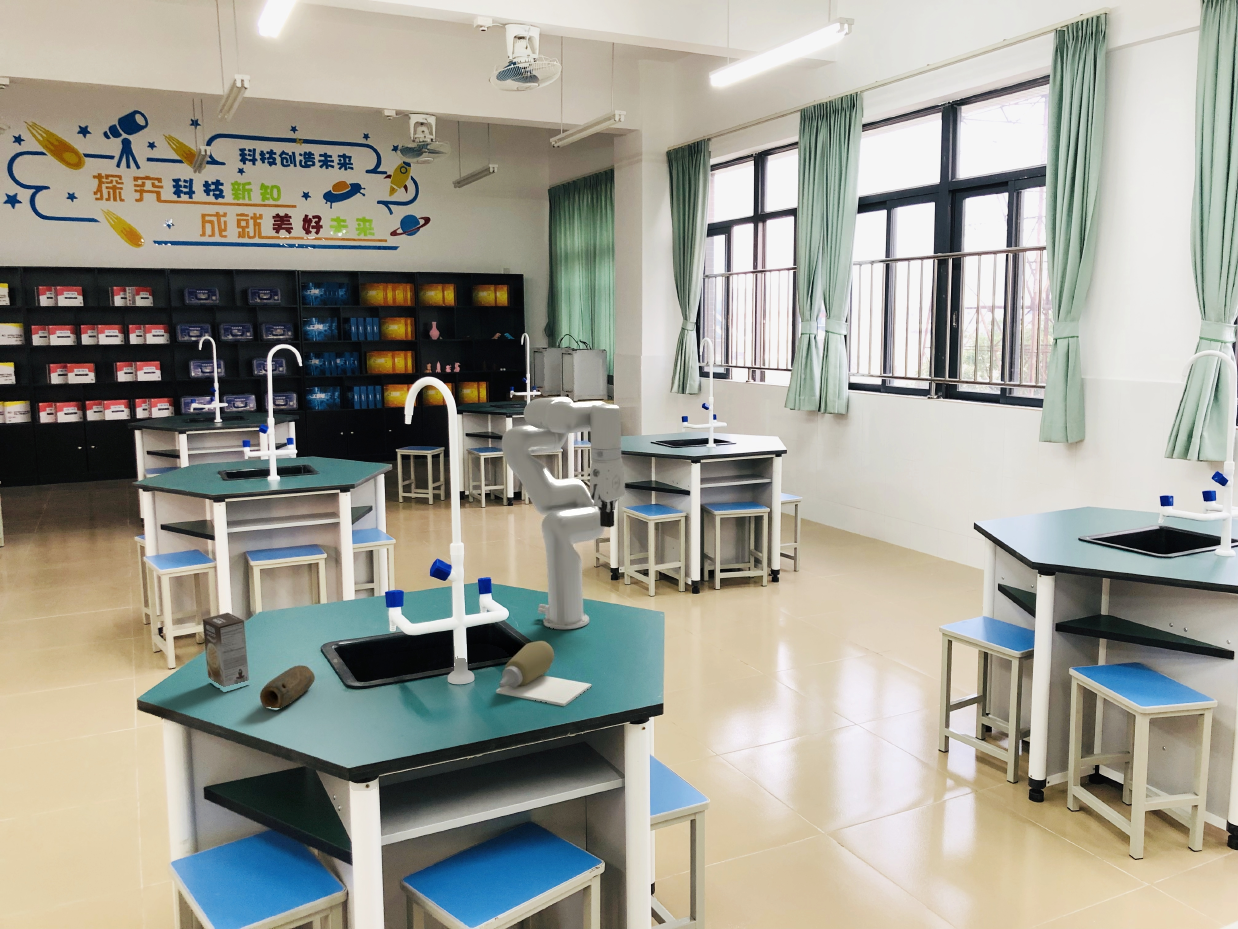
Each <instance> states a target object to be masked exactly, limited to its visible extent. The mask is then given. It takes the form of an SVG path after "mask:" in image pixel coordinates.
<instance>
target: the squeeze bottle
mask: <svg viewBox="0 0 1238 929" xmlns="http://www.w3.org/2000/svg"><path fill="white" fill-rule="evenodd" d="M554 659H555V652H554V649H553V647H552V646H551V645H550V643H548V642H547V641H545V640H537V641H533V642H529V643H526V644H525V645H524V646H523V647H522V648H521V649H520V650H518V652H517V653H516V654H514V655H513V657H512V658H511V659H510V660H508V662H507V663H506V665H505V668H504V669H503V671H502V673H501V674H502V675H501V677H502V679H501V680H500V681H499V683H498V686H499V688H503V687H505V686H509V687H513V688H514V687H517V686H524V685H526V684H528V683H529V682H531V681H533V680H534V679H536V678H538V677H540V676H541V675H544V674H546V673H547V672H548V671H549V670H550V668H551V666H552V664H553V661H554Z"/></svg>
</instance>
